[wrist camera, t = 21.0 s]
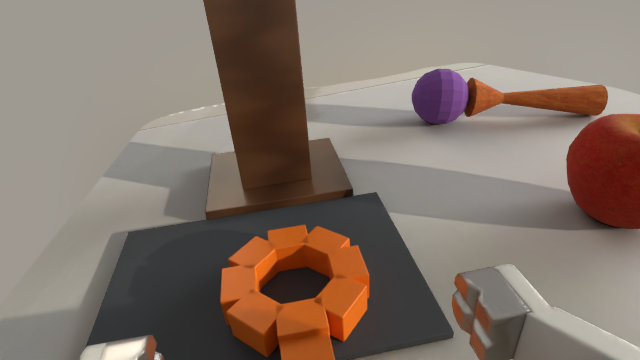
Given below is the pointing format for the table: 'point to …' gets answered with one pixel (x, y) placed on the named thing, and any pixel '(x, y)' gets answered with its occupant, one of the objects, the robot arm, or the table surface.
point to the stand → (265, 114)
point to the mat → (286, 286)
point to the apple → (607, 170)
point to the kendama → (495, 97)
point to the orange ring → (301, 316)
